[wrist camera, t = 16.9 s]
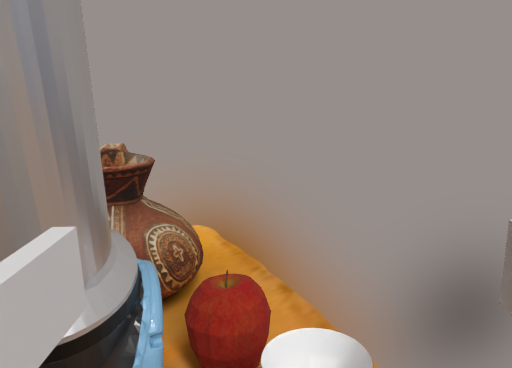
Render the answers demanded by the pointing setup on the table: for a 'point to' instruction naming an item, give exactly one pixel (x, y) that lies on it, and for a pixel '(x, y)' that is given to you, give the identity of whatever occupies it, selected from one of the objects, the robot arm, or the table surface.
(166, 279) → the jug
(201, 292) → the apple
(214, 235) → the table surface
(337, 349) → the cup
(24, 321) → the robot arm
